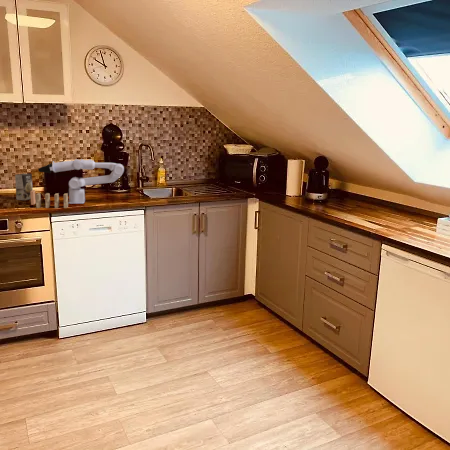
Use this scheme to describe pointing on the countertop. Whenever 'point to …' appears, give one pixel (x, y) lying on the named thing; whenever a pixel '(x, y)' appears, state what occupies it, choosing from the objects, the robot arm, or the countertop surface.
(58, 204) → the domino
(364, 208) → the countertop surface
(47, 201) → the domino
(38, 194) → the domino
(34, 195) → the end domino
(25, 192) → the coffee box
